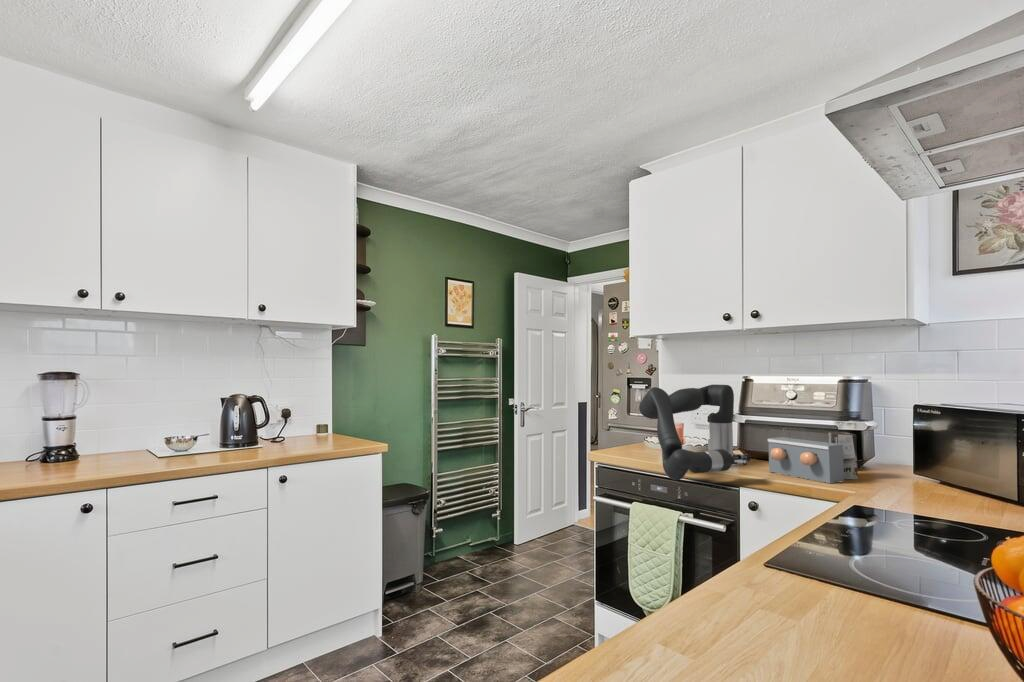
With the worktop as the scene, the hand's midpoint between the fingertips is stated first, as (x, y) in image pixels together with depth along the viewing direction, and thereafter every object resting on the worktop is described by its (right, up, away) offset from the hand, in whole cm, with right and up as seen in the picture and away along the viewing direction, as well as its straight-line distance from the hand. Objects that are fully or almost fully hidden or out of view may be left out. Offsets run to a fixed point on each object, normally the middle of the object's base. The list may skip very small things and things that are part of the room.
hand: (748, 457), depth 195 cm
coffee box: (+37, -8, +4) cm, 38 cm away
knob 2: (+24, -2, -1) cm, 24 cm away
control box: (+23, -8, +5) cm, 25 cm away
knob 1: (+18, -3, +9) cm, 21 cm away
